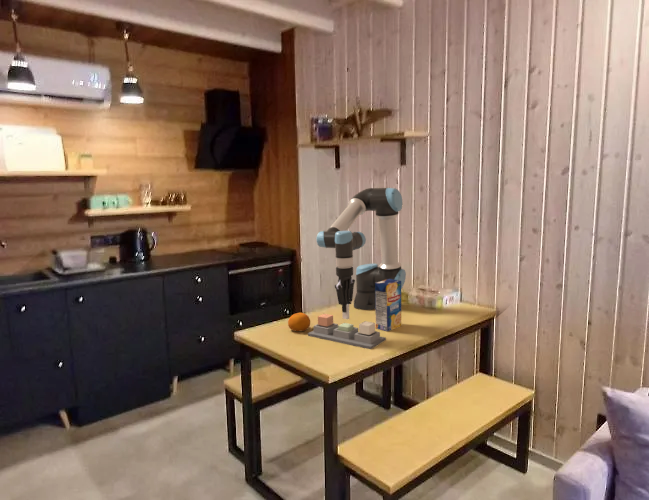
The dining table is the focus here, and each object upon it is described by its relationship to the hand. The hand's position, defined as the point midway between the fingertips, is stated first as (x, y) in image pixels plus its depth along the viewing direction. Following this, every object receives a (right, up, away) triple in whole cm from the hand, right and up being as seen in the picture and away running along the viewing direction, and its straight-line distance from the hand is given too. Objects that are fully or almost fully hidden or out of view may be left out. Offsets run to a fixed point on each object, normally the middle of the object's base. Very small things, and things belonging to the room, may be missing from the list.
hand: (346, 318), depth 217 cm
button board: (0, -9, +1) cm, 9 cm away
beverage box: (+21, -6, +14) cm, 26 cm away
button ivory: (+9, -5, -6) cm, 12 cm away
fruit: (-21, -8, +14) cm, 27 cm away
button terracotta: (-9, -4, +7) cm, 12 cm away
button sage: (0, -7, +1) cm, 7 cm away
